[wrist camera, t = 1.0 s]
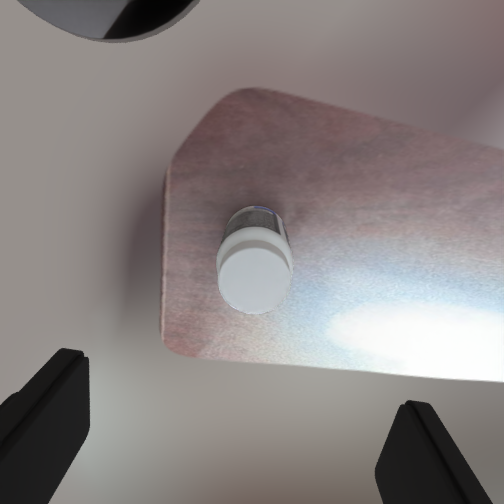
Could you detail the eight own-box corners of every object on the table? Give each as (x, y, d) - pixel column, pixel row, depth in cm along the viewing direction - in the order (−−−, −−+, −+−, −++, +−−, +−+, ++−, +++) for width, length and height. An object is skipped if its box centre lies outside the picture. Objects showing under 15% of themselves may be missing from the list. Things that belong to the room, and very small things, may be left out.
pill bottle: (212, 235, 25) (191, 283, 17) (254, 191, 24) (252, 221, 16) (256, 274, 26) (255, 336, 19) (299, 234, 25) (317, 282, 17)
